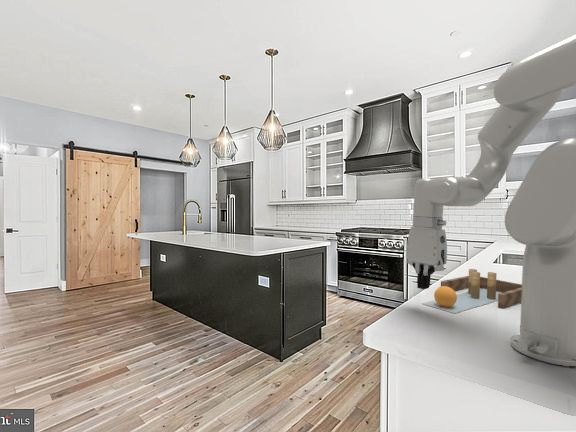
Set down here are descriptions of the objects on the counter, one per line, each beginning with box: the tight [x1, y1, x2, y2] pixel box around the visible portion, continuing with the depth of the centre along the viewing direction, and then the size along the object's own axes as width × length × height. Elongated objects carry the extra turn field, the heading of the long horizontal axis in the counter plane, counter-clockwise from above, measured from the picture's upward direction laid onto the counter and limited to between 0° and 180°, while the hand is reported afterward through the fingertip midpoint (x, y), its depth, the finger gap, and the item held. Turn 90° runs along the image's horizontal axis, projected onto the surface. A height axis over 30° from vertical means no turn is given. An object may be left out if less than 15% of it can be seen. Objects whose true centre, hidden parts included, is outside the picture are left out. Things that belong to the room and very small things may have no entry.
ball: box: [433, 286, 458, 307], centre depth 93 cm, size 6×6×6 cm
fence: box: [440, 275, 522, 309], centre depth 105 cm, size 20×20×4 cm
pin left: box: [467, 268, 478, 294], centre depth 106 cm, size 2×2×8 cm
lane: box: [421, 288, 502, 314], centre depth 100 cm, size 36×10×1 cm, turn 122°
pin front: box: [471, 271, 481, 299], centre depth 102 cm, size 2×2×8 cm
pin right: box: [487, 271, 498, 300], centre depth 101 cm, size 2×2×8 cm
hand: (423, 287), depth 88 cm, fingers closed
